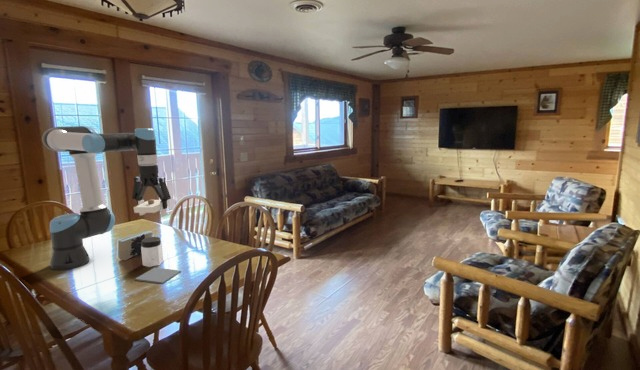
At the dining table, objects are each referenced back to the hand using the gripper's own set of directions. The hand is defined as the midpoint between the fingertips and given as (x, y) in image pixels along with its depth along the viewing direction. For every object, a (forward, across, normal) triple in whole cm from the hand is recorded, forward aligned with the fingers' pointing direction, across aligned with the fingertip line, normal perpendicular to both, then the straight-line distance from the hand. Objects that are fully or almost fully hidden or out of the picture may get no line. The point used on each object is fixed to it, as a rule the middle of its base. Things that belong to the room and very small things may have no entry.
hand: (153, 215), depth 151 cm
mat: (+27, +2, -3) cm, 27 cm away
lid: (-3, 0, 0) cm, 3 cm away
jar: (+27, -10, +8) cm, 29 cm away
